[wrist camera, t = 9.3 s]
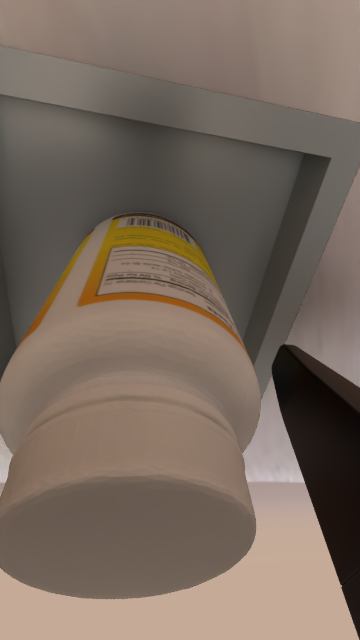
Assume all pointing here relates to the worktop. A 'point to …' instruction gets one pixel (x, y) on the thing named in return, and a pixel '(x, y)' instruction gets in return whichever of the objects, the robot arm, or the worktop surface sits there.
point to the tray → (165, 186)
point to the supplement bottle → (128, 422)
